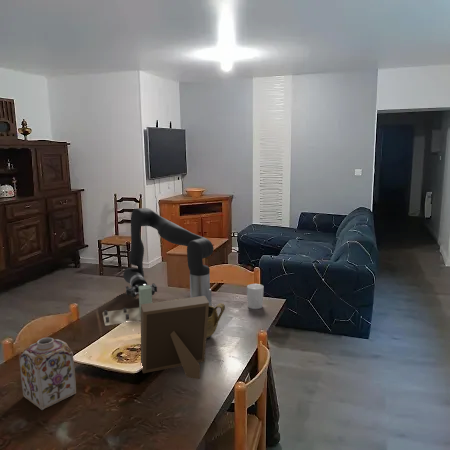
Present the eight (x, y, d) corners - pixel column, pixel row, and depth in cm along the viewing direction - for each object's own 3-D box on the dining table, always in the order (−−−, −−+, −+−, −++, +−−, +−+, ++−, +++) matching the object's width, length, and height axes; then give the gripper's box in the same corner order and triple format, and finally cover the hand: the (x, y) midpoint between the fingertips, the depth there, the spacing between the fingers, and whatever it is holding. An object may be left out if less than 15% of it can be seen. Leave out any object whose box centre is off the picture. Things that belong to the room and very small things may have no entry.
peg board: (155, 308, 203) (154, 301, 203) (161, 320, 188) (161, 313, 188) (102, 315, 195) (102, 308, 195) (105, 328, 181) (104, 321, 180)
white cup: (245, 308, 202) (245, 288, 200) (249, 302, 209) (249, 283, 207) (261, 310, 199) (261, 289, 198) (265, 304, 207) (265, 284, 205)
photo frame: (140, 367, 148) (137, 298, 144) (200, 356, 156) (199, 290, 151) (149, 389, 135) (146, 314, 130) (214, 376, 142) (214, 305, 138)
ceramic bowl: (231, 333, 175) (231, 298, 172) (215, 351, 160) (214, 313, 157) (182, 325, 183) (181, 291, 181) (162, 342, 168) (161, 305, 165)
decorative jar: (57, 381, 140) (53, 329, 137) (77, 393, 133) (73, 339, 130) (21, 397, 131) (15, 342, 128) (40, 411, 124) (35, 353, 121)
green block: (150, 310, 197) (149, 285, 195) (152, 314, 192) (151, 288, 190) (139, 311, 195) (138, 286, 193) (141, 315, 191) (140, 289, 189)
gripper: (123, 278, 209) (127, 288, 194) (152, 275, 214) (158, 284, 199) (124, 292, 211) (128, 303, 195) (153, 289, 215) (159, 299, 200)
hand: (143, 294), depth 197 cm, fingers open, 8 cm apart
